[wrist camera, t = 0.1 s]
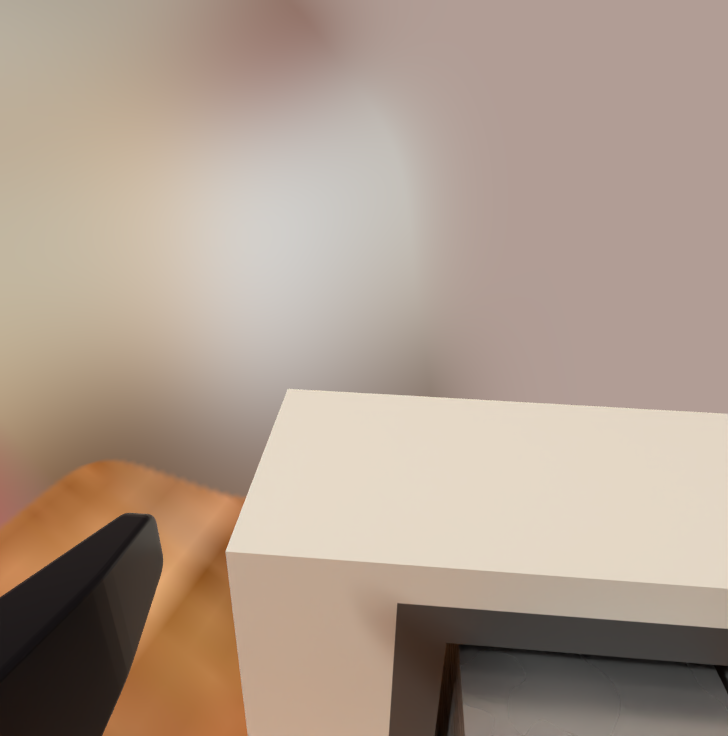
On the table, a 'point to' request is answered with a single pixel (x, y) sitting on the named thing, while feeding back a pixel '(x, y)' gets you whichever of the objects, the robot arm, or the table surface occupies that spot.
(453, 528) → the housing
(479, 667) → the light grey rectangular block
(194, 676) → the table surface
